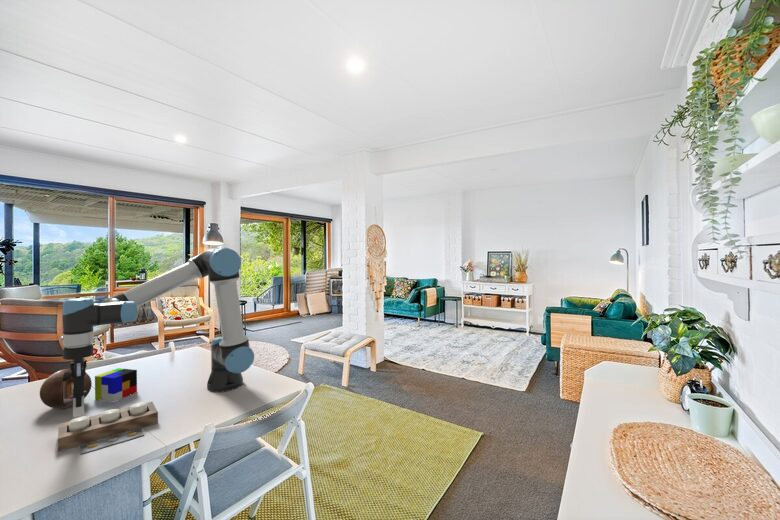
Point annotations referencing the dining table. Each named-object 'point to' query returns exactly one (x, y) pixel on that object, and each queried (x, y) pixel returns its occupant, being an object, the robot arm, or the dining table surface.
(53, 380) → the wooden sphere
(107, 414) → the middle button
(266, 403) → the dining table surface
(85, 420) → the left button
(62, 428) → the button board
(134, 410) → the right button
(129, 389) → the puzzle toy
